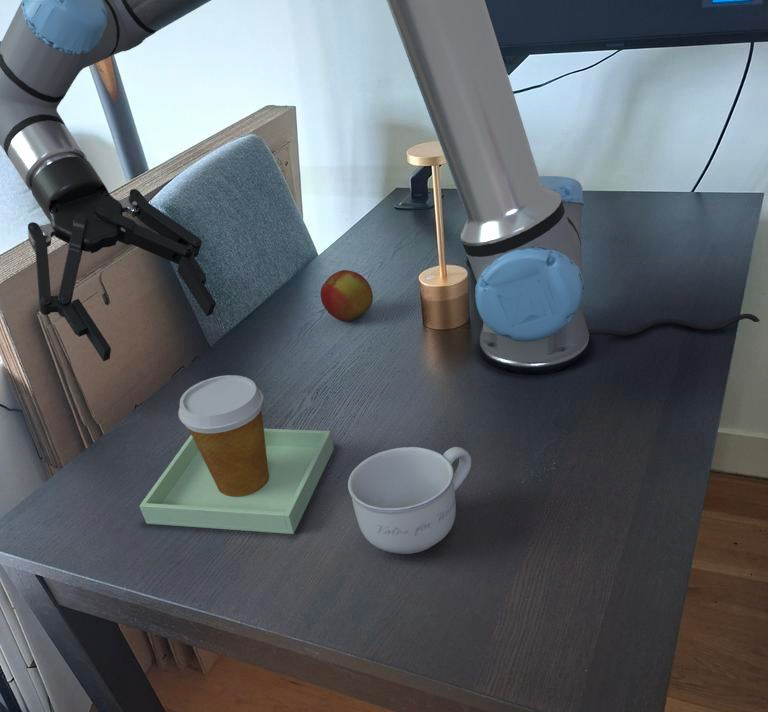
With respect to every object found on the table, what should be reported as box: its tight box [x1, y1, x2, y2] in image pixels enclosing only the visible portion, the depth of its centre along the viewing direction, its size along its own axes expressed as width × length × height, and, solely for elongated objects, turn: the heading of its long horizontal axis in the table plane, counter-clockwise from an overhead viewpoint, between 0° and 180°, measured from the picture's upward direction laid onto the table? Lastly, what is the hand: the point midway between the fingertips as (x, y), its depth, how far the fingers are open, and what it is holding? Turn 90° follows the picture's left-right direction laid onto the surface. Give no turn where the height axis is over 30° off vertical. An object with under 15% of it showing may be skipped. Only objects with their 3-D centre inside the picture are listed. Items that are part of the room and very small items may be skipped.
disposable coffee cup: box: [177, 374, 269, 497], centre depth 87 cm, size 10×10×12 cm
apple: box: [320, 269, 374, 323], centre depth 121 cm, size 8×8×8 cm
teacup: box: [347, 446, 472, 555], centre depth 79 cm, size 14×11×8 cm
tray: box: [138, 428, 335, 535], centre depth 91 cm, size 18×16×3 cm
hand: (161, 332), depth 87 cm, fingers open, 13 cm apart
